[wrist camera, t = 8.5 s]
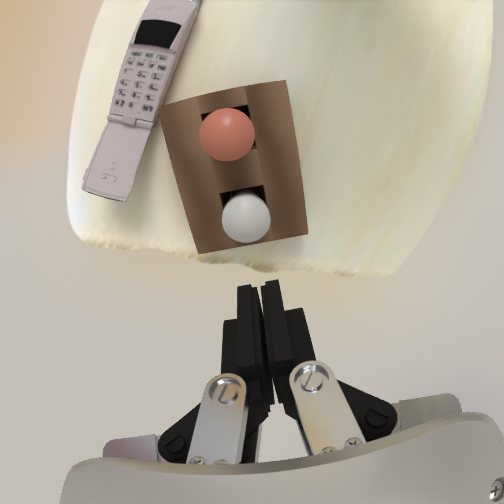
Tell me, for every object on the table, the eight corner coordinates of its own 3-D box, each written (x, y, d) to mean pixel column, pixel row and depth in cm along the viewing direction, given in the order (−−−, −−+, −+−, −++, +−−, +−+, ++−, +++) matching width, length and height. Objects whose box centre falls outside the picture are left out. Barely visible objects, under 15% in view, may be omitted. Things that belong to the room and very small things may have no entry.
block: (278, 84, 26) (285, 80, 21) (299, 216, 33) (308, 234, 29) (170, 107, 26) (157, 107, 22) (203, 234, 34) (198, 254, 30)
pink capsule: (247, 104, 25) (249, 103, 19) (254, 144, 27) (259, 155, 21) (205, 113, 25) (193, 115, 19) (213, 152, 28) (206, 166, 21)
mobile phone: (79, 192, 25) (148, -30, 13) (102, 177, 30) (162, -11, 18) (127, 205, 26) (206, -25, 15) (144, 188, 31) (211, -4, 20)
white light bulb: (260, 174, 30) (266, 193, 24) (267, 210, 32) (273, 237, 26) (221, 182, 30) (216, 203, 24) (230, 217, 32) (227, 246, 26)
